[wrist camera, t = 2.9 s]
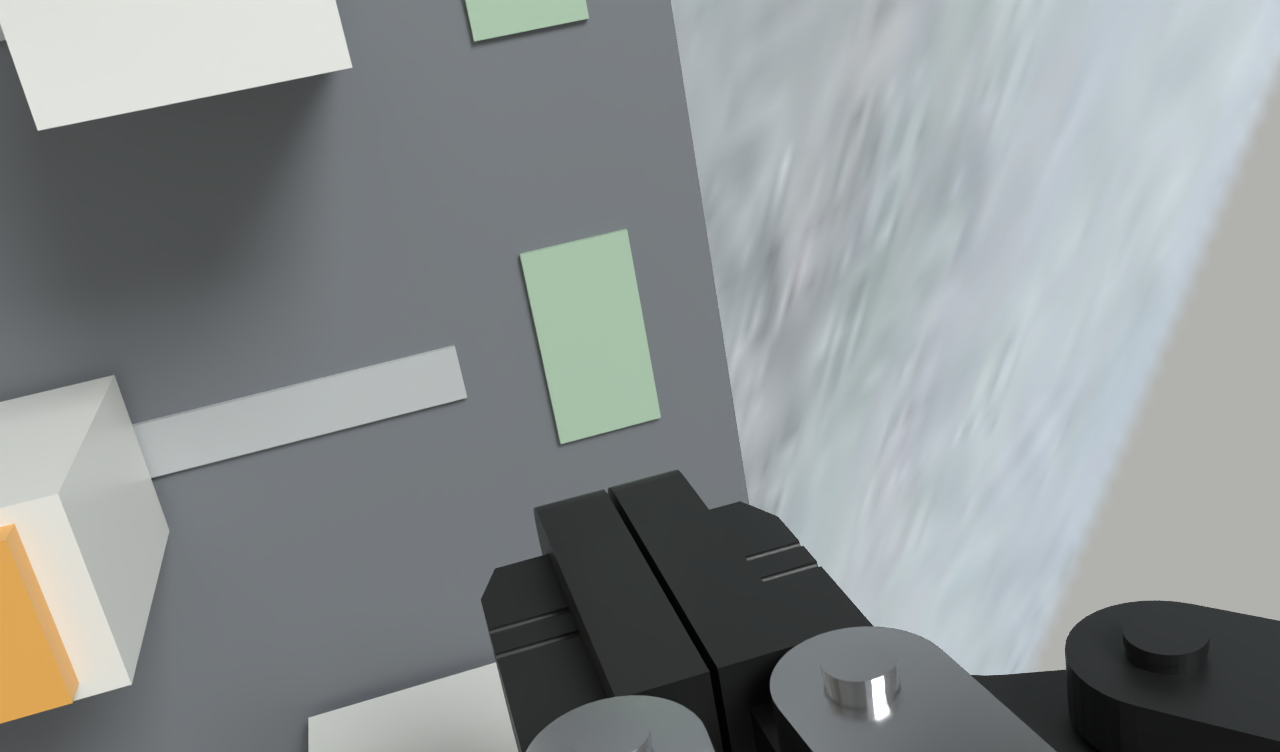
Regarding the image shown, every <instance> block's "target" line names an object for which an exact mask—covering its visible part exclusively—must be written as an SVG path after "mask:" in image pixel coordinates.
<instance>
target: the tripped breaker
mask: <svg viewBox="0 0 1280 752" xmlns="http://www.w3.org/2000/svg"><path fill="white" fill-rule="evenodd" d="M168 535H169V528H168V525H167V522H166V519H165V517H164V514H163V511H162V508H161V505H160V502H159V500H158V497H157V494H156V491H155V488H154V485H153V483H152V480H151V477H150V474H149V471H148V468H147V466H146V463H145V460H144V457H143V454H142V451H141V449H140V446H139V443H138V440H137V437H136V435H135V432H134V429H133V426H132V423H131V420H130V418H129V415H128V412H127V409H126V406H125V403H124V401H123V398H122V395H121V392H120V389H119V386H118V384H117V381H116V378H115V375H112V376H107V377H103V378H99V379H95V380H91V381H86V382H82V383H78V384H74V385H70V386H65V387H61V388H57V389H53V390H49V391H44V392H40V393H36V394H32V395H28V396H23V397H19V398H15V399H11V400H7V401H2V402H0V724H1V723H4V722H8V721H11V720H15V719H18V718H22V717H25V716H29V715H32V714H36V713H40V712H43V711H47V710H50V709H54V708H57V707H61V706H64V705H68V704H71V703H73V701H76V700H79V699H83V698H86V697H90V696H93V695H97V694H100V693H104V692H107V691H111V690H114V689H118V688H121V687H125V686H129V685H132V681H133V677H134V673H135V669H136V665H137V661H138V657H139V653H140V649H141V645H142V641H143V637H144V633H145V628H146V624H147V620H148V616H149V612H150V608H151V604H152V600H153V596H154V592H155V588H156V584H157V580H158V576H159V571H160V567H161V563H162V559H163V555H164V551H165V547H166V543H167V539H168Z"/></svg>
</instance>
